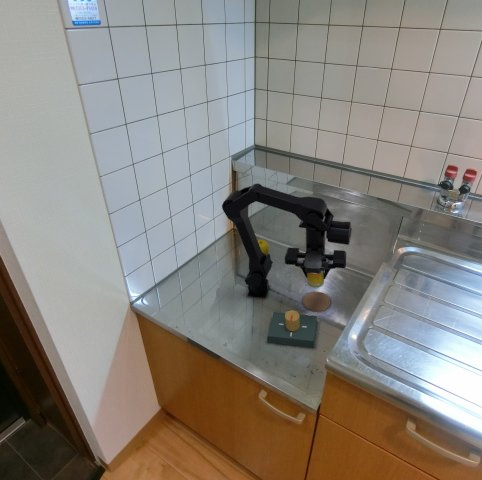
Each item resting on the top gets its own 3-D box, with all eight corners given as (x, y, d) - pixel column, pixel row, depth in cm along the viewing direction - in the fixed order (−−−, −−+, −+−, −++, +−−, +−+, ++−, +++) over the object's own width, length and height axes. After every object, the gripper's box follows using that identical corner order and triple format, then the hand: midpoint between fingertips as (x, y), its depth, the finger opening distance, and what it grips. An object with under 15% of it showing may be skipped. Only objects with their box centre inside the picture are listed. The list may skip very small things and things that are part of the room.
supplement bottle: (323, 289, 120) (323, 266, 114) (306, 288, 121) (306, 265, 115) (324, 278, 124) (324, 255, 118) (308, 277, 125) (307, 254, 119)
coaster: (301, 310, 124) (301, 309, 124) (304, 291, 131) (304, 290, 131) (328, 313, 122) (328, 312, 122) (330, 294, 129) (330, 292, 129)
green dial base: (268, 342, 115) (267, 335, 113) (274, 318, 123) (273, 311, 121) (313, 347, 112) (313, 340, 110) (316, 322, 120) (316, 315, 118)
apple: (265, 262, 147) (263, 246, 142) (251, 258, 150) (249, 242, 145) (272, 253, 151) (271, 237, 146) (258, 249, 154) (257, 234, 149)
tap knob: (286, 319, 118) (286, 308, 115) (300, 320, 117) (300, 310, 114) (284, 330, 114) (283, 319, 112) (298, 331, 113) (298, 321, 110)
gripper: (280, 253, 108) (283, 292, 117) (346, 257, 103) (344, 297, 112) (286, 231, 116) (288, 269, 125) (347, 234, 112) (345, 273, 121)
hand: (315, 277), depth 121 cm, fingers closed on supplement bottle, 5 cm apart
